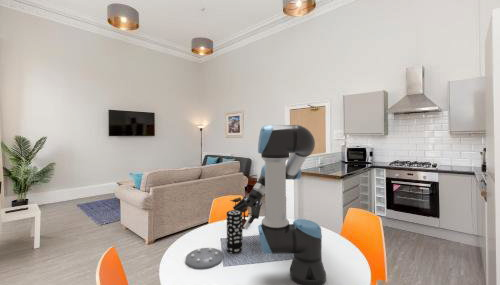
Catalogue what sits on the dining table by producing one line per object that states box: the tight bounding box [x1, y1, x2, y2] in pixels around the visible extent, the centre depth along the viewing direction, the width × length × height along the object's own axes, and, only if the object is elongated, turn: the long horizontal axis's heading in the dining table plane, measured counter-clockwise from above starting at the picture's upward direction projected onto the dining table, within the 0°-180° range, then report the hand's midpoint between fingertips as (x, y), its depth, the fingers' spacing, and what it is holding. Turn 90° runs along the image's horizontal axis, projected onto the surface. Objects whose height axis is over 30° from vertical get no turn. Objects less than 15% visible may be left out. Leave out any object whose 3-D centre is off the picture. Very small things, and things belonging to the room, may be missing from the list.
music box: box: [229, 197, 251, 230], centre depth 162 cm, size 15×11×20 cm
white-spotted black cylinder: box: [226, 209, 244, 255], centre depth 127 cm, size 8×8×20 cm
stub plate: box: [185, 247, 224, 270], centre depth 117 cm, size 18×18×3 cm
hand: (237, 224), depth 129 cm, fingers open, 13 cm apart
